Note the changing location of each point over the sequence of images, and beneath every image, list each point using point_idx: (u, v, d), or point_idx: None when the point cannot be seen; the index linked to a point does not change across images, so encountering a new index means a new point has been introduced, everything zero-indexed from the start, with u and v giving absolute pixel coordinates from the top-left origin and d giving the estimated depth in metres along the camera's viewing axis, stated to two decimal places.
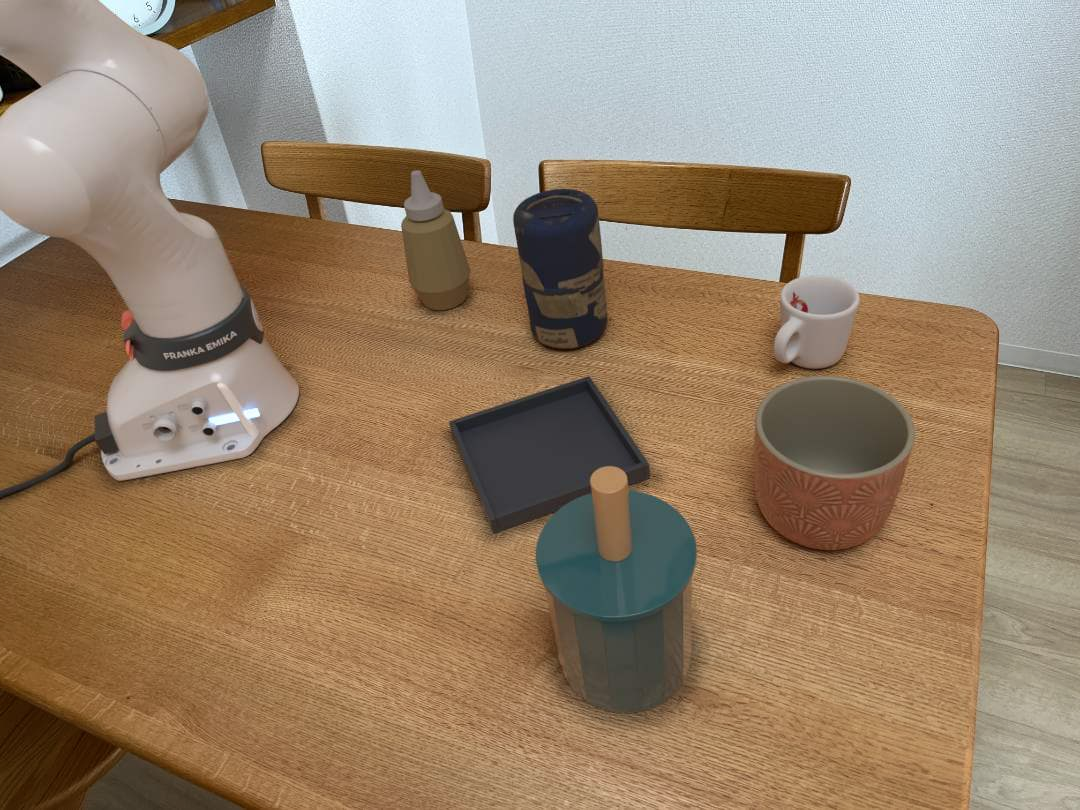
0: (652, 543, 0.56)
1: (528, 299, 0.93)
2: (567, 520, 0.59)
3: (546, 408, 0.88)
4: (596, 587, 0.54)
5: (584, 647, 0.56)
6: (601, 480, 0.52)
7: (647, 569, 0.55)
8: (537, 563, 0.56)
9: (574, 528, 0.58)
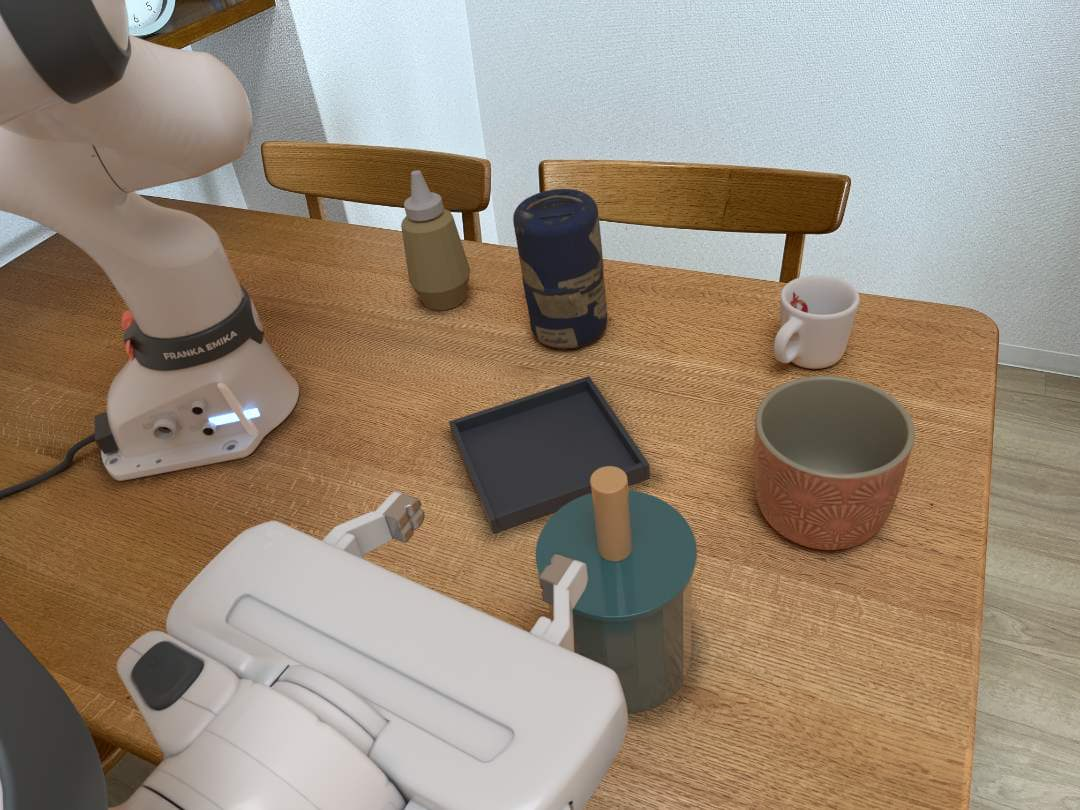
0: (652, 543, 0.56)
1: (528, 299, 0.93)
2: (567, 520, 0.59)
3: (546, 408, 0.88)
4: (596, 587, 0.54)
5: (584, 647, 0.56)
6: (601, 480, 0.52)
7: (647, 569, 0.55)
8: (537, 563, 0.56)
9: (574, 528, 0.58)
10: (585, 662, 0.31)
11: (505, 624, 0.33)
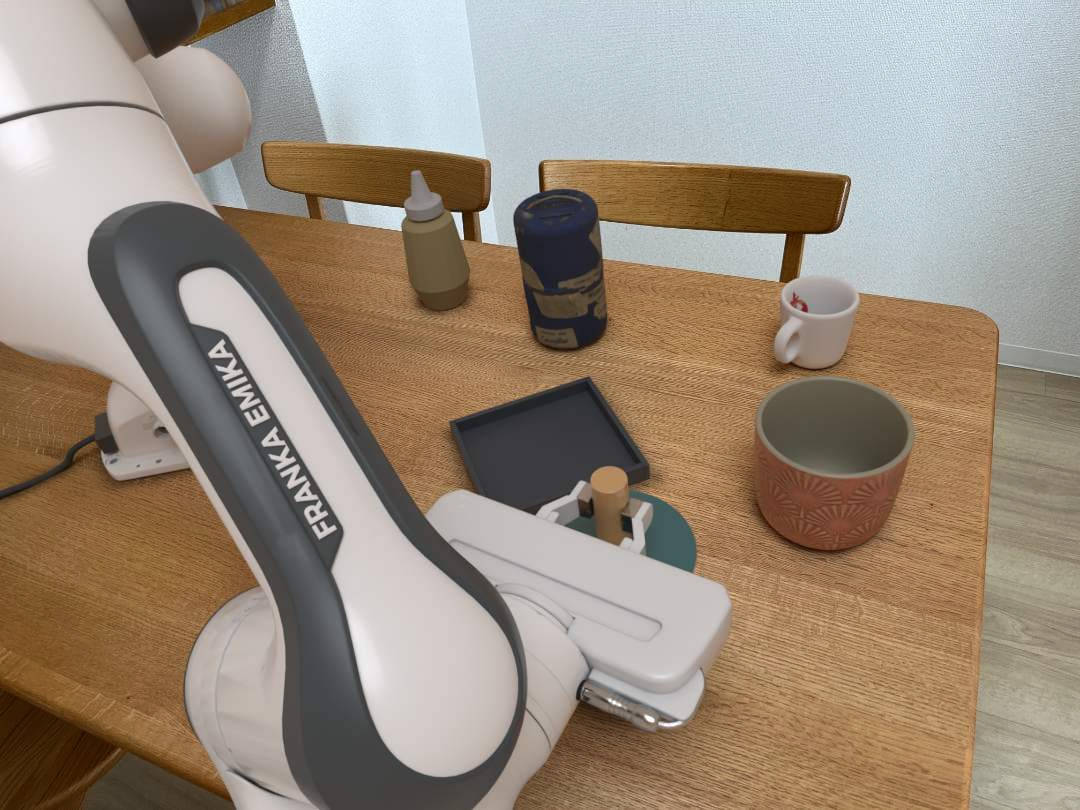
0: (652, 543, 0.56)
1: (528, 299, 0.93)
2: None
3: (546, 408, 0.88)
4: None
5: None
6: (601, 480, 0.52)
7: None
8: None
9: (574, 527, 0.58)
10: (704, 580, 0.46)
11: (644, 557, 0.48)
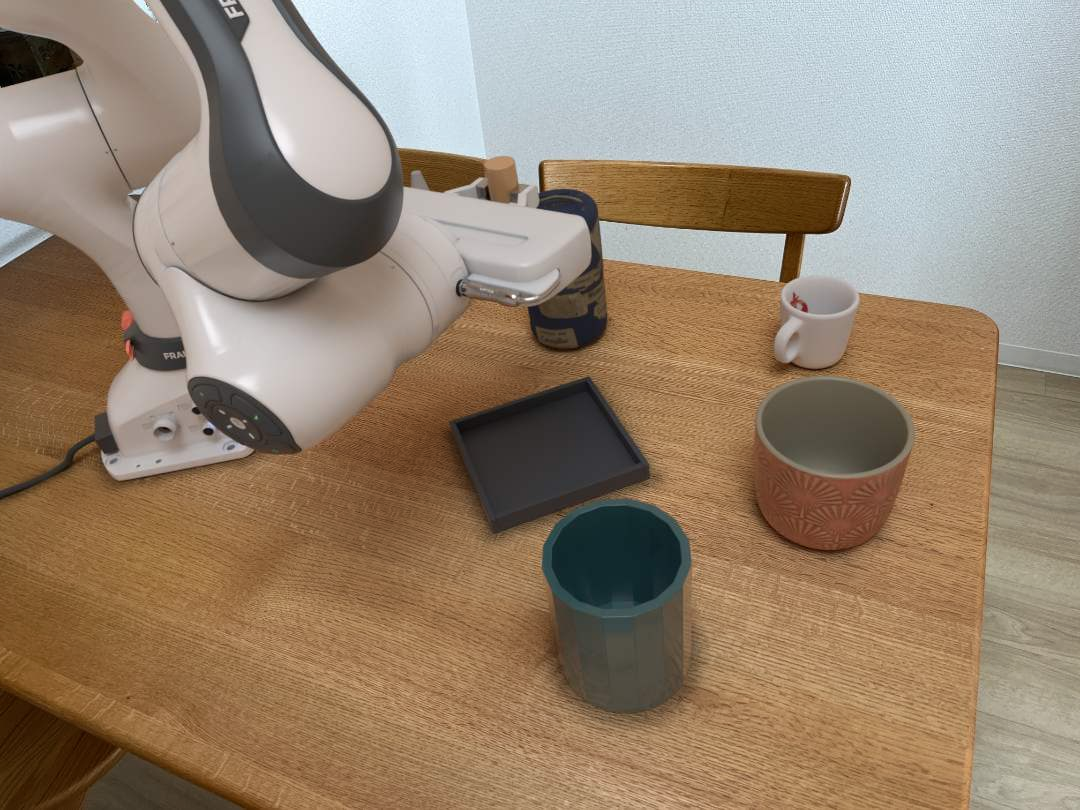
0: None
1: None
2: None
3: (546, 408, 0.88)
4: None
5: (584, 647, 0.56)
6: (493, 163, 0.62)
7: None
8: None
9: None
10: (567, 214, 0.56)
11: (522, 206, 0.58)
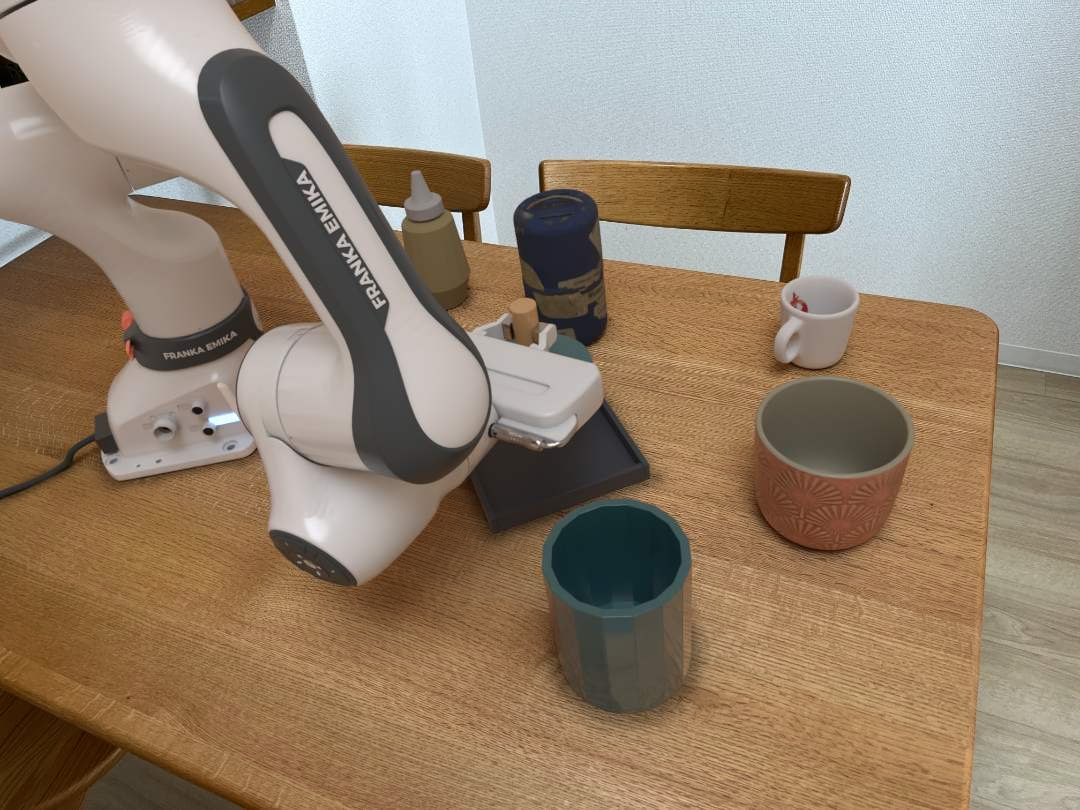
0: None
1: None
2: None
3: None
4: None
5: (584, 647, 0.56)
6: (517, 306, 0.71)
7: None
8: None
9: None
10: (582, 361, 0.65)
11: (543, 351, 0.67)
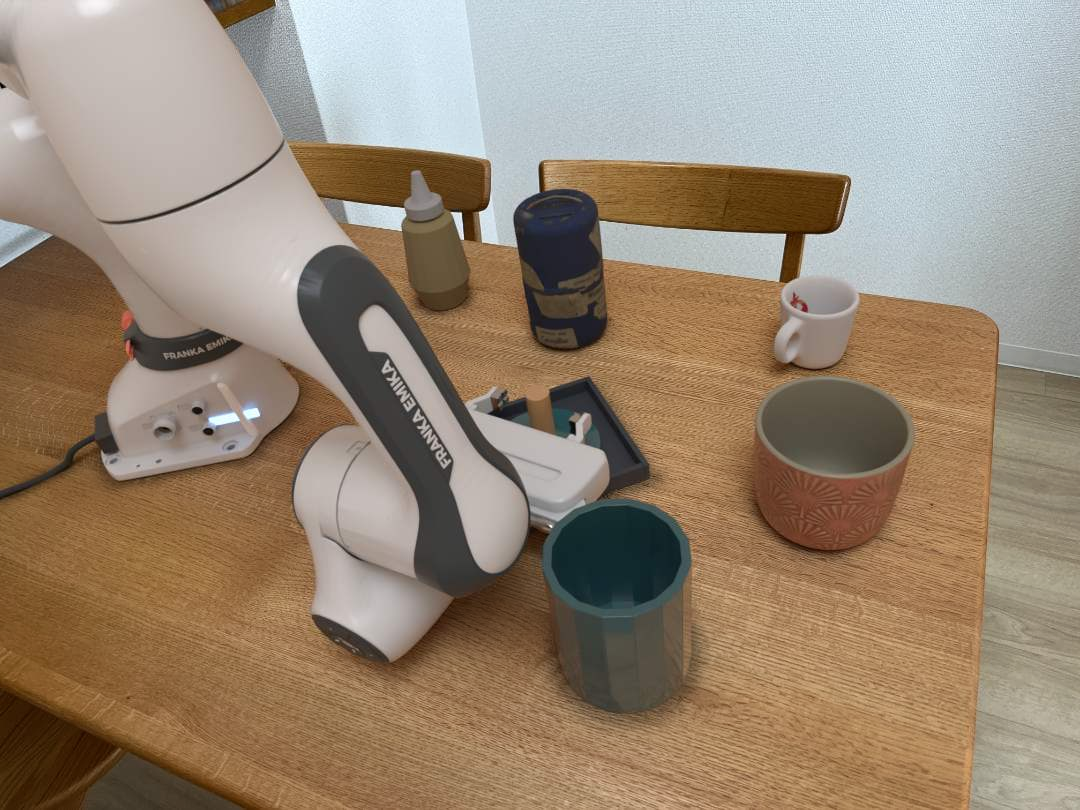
0: None
1: (528, 299, 0.93)
2: None
3: None
4: None
5: (584, 647, 0.56)
6: (532, 393, 0.77)
7: None
8: None
9: None
10: (590, 447, 0.71)
11: (554, 435, 0.73)
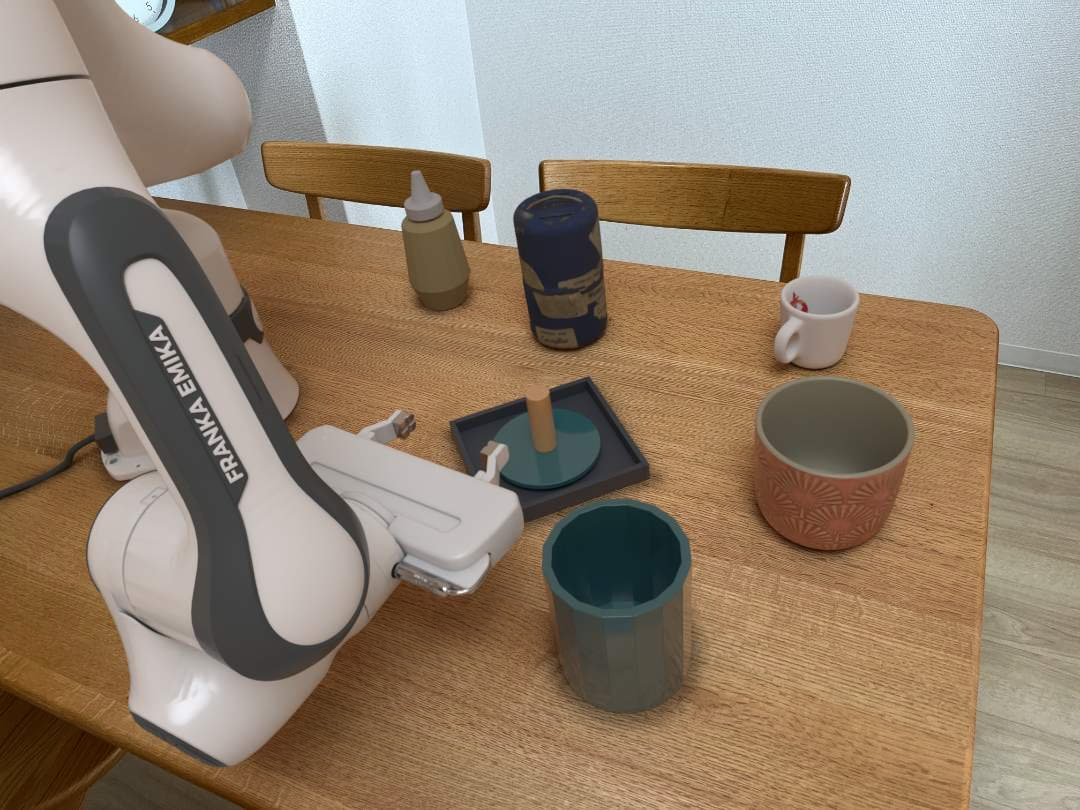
0: (571, 441, 0.82)
1: (528, 299, 0.93)
2: (514, 427, 0.84)
3: None
4: (530, 468, 0.79)
5: (584, 647, 0.56)
6: (532, 393, 0.77)
7: (566, 456, 0.80)
8: None
9: (518, 432, 0.83)
10: (500, 488, 0.59)
11: (459, 472, 0.61)
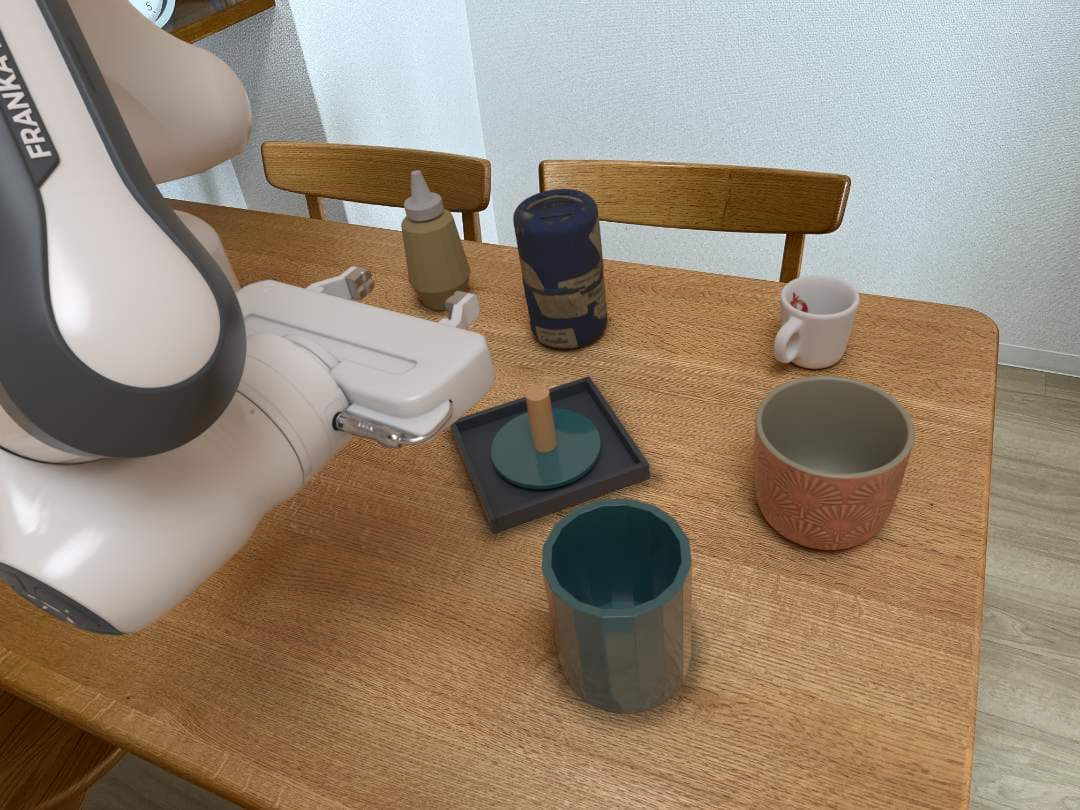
0: (571, 441, 0.82)
1: (528, 299, 0.93)
2: (514, 427, 0.84)
3: None
4: (530, 468, 0.79)
5: (584, 647, 0.56)
6: (532, 393, 0.77)
7: (566, 456, 0.80)
8: (491, 454, 0.82)
9: (518, 432, 0.83)
10: (465, 331, 0.49)
11: (418, 318, 0.51)
